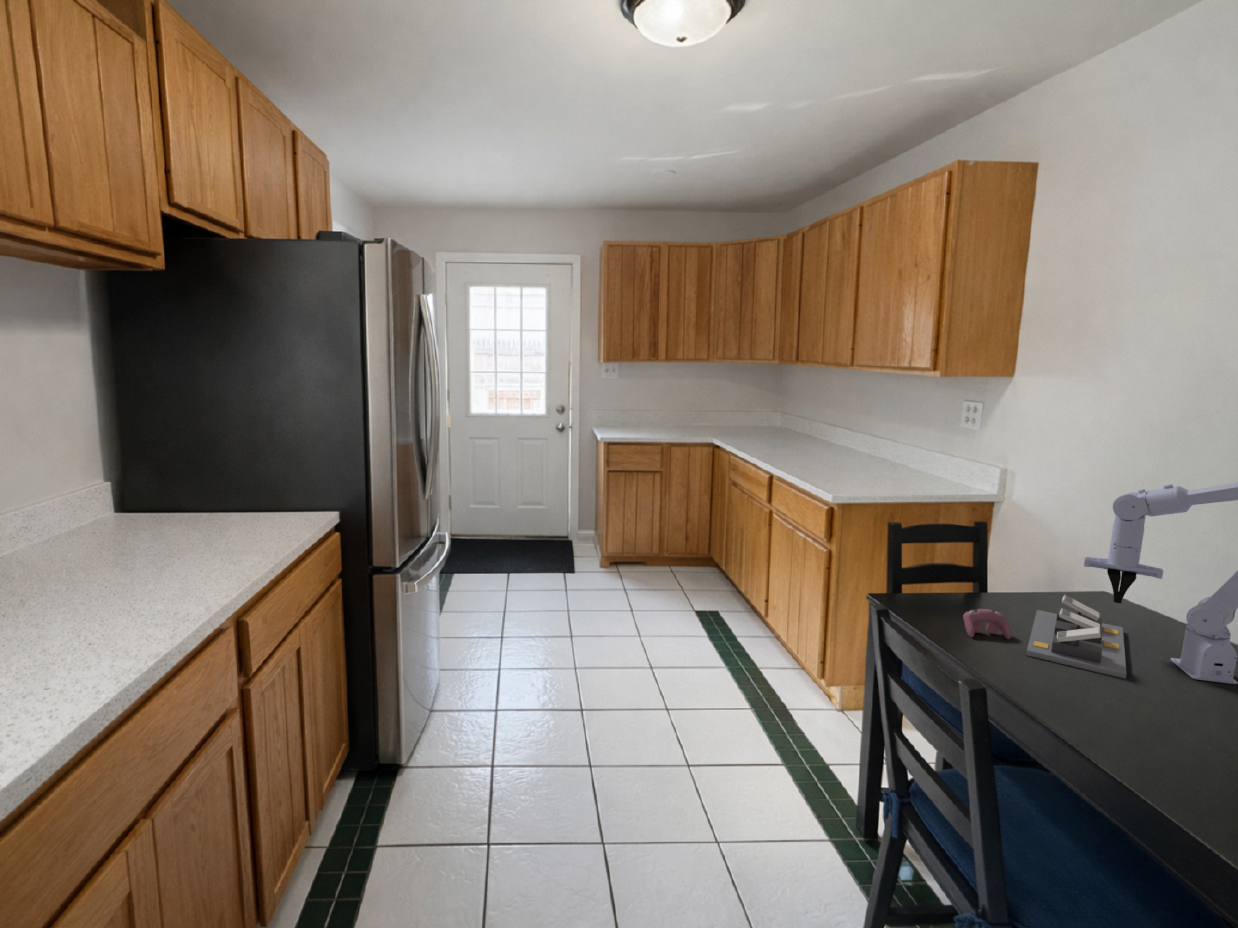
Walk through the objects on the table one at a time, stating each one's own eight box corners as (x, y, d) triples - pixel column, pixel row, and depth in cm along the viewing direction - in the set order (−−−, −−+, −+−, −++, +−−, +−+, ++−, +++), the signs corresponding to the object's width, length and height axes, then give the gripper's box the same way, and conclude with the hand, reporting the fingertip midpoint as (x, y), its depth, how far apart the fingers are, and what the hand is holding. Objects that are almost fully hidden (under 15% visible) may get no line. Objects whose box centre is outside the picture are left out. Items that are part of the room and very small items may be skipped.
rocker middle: (1098, 627, 159) (1100, 623, 158) (1098, 633, 155) (1100, 629, 155) (1059, 611, 163) (1061, 607, 162) (1059, 617, 159) (1061, 612, 159)
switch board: (1121, 632, 167) (1124, 613, 166) (1125, 678, 143) (1129, 657, 142) (1036, 614, 177) (1038, 597, 176) (1026, 655, 153) (1028, 635, 152)
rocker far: (1097, 616, 167) (1099, 612, 167) (1096, 621, 164) (1099, 617, 163) (1062, 597, 171) (1065, 594, 170) (1061, 602, 167) (1064, 598, 167)
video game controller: (1004, 640, 164) (1001, 610, 166) (1013, 639, 160) (1010, 609, 162) (961, 637, 165) (959, 608, 167) (969, 636, 161) (967, 606, 163)
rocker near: (1100, 631, 150) (1098, 626, 150) (1100, 637, 147) (1098, 632, 147) (1058, 636, 155) (1057, 631, 155) (1058, 642, 151) (1056, 637, 152)
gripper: (1164, 546, 155) (1155, 603, 158) (1087, 535, 163) (1079, 590, 165) (1167, 554, 149) (1157, 612, 152) (1087, 542, 157) (1079, 598, 160)
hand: (1117, 601), depth 158 cm, fingers closed
